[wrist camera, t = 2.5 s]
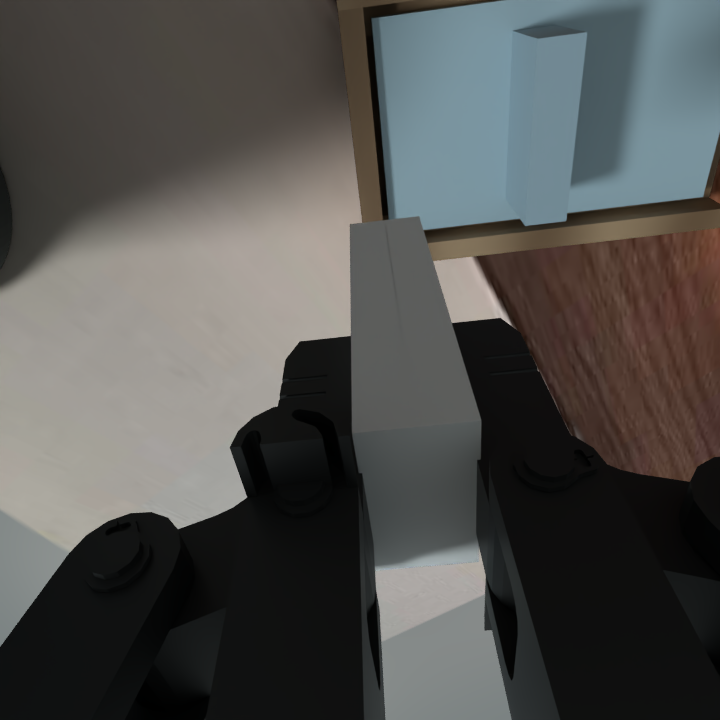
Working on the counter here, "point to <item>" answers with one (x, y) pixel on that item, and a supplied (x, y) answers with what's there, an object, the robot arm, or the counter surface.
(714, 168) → the pencil box
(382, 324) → the robot arm
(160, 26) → the counter surface
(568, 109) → the lid
